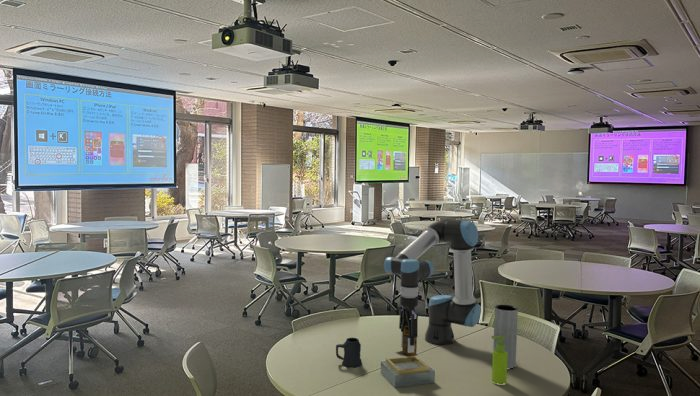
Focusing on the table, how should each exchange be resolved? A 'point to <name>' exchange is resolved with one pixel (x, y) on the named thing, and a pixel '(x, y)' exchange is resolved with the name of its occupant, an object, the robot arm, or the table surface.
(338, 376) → the table surface
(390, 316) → the table surface
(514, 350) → the vase
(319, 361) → the table surface
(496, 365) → the soap dispenser
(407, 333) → the condiment
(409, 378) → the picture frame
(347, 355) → the mug
